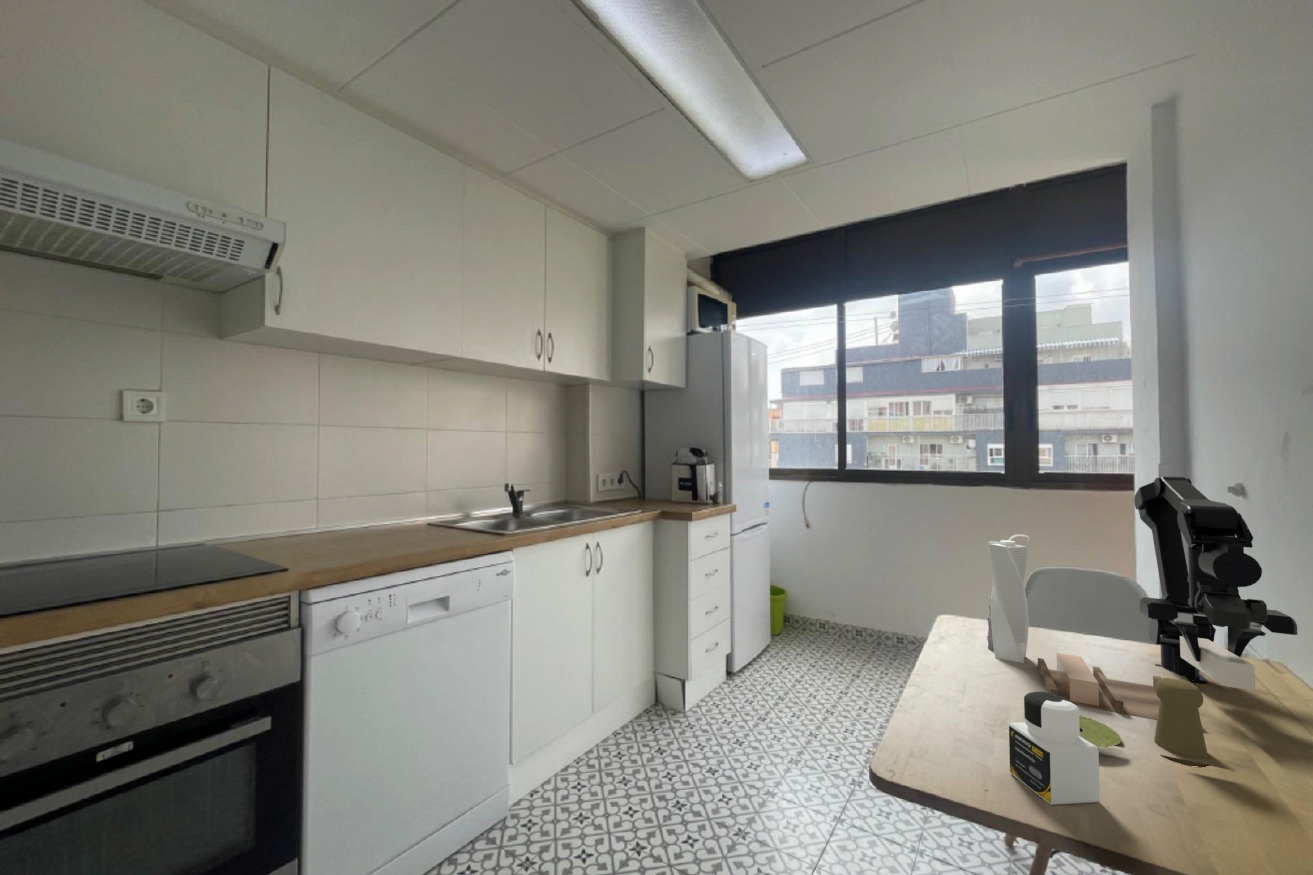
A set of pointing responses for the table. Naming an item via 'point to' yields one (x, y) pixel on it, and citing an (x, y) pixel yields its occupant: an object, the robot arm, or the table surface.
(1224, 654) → the clay strip
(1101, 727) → the mat
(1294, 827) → the table surface
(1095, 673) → the drying rack
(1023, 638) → the skyscraper
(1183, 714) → the cork
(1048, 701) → the medicine bottle
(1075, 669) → the light brown wooden block
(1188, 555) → the robot arm
